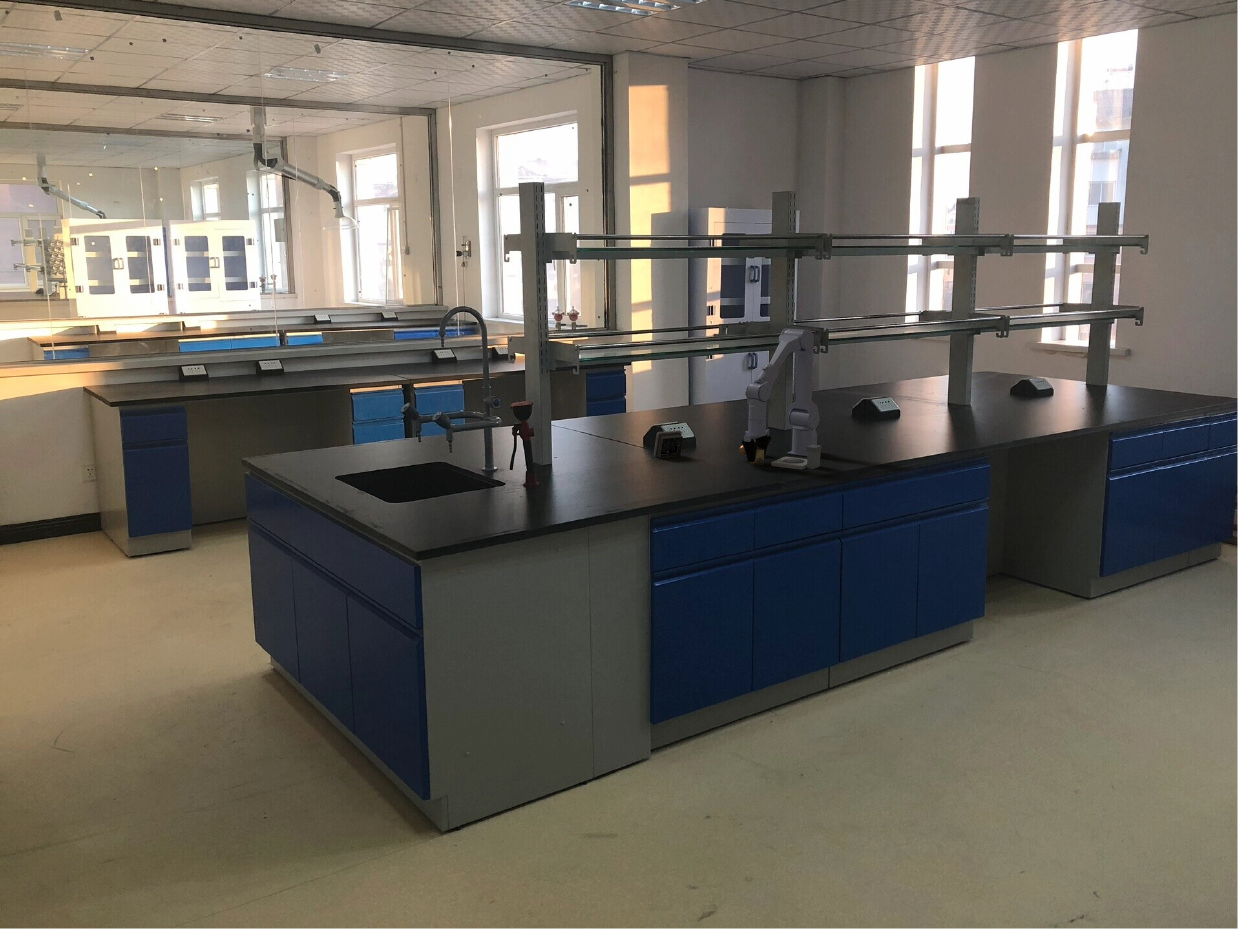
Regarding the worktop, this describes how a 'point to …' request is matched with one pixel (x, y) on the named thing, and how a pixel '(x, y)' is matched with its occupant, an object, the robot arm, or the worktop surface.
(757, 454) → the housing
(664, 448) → the electrical switch
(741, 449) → the lever
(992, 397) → the worktop surface
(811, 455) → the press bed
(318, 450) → the worktop surface
